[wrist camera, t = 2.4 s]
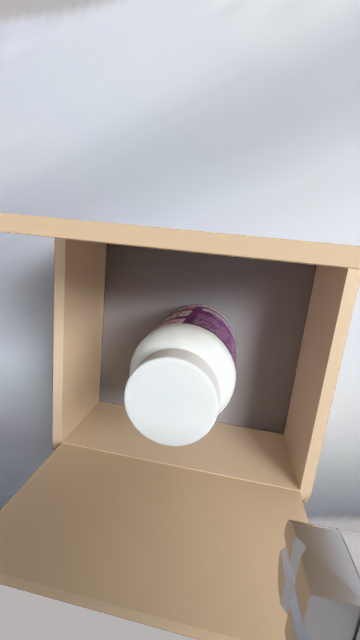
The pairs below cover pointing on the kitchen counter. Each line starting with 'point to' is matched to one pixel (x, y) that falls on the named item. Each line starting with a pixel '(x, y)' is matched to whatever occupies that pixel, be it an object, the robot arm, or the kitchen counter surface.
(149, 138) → the kitchen counter surface
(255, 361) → the kitchen counter surface
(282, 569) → the robot arm
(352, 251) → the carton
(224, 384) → the pill bottle
